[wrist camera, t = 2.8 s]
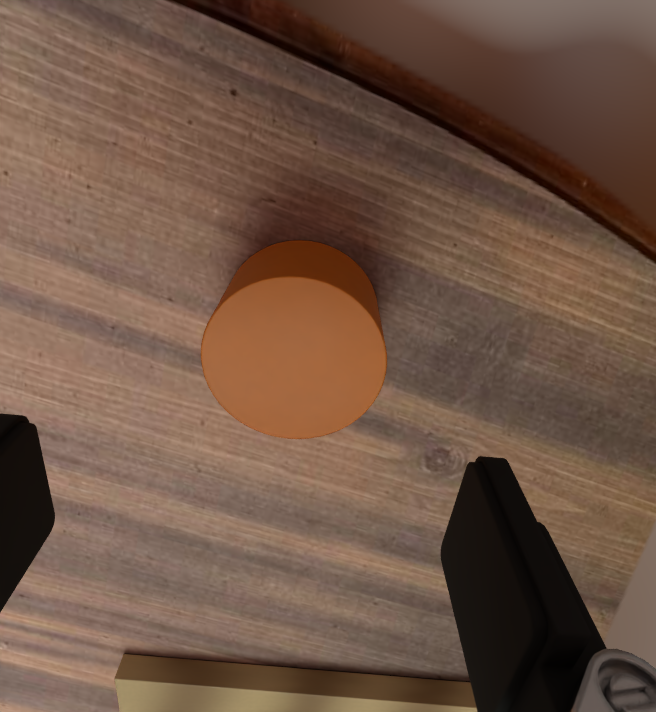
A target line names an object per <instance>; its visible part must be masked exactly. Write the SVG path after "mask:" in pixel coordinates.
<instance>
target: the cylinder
mask: <svg viewBox="0 0 656 712" xmlns="http://www.w3.org/2000/svg"><path fill="white" fill-rule="evenodd" d="M201 362H202V368H203V372H204V376H205V379H206V381H207V384H208V386H209V388H210V390H211V392H212V394H213V395H214V397H215V398H216V399H217V401H218V402H219V403H220V405H221V406H222V407H223V408H224V409H225V410H226V411H227V412H228V413H229V414H231V415H232V416H233V417H234V418H235V419H237V420H238V421H240V422H241V423H243V424H244V425H246V426H248V427H250V428H252V429H254V430H256V431H259V432H262V433H264V434H268V435H271V436H275V437H281V438H288V439H306V438H314V437H320V436H324V435H327V434H331V433H333V432H336V431H338V430H341V429H343V428H344V427H346V426H348V425H350V424H351V423H353V422H354V421H356V420H357V419H358V418H359V417H361V416H362V415H363V414H364V413H365V412H366V411H367V410H368V409H369V407H370V406H371V405H372V404H373V402H374V401H375V399H376V398H377V396H378V394H379V392H380V390H381V388H382V385H383V382H384V379H385V375H386V368H387V352H386V346H385V341H384V336H383V330H382V325H381V320H380V314H379V309H378V304H377V299H376V295H375V292H374V289H373V286H372V284H371V282H370V280H369V278H368V277H367V275H366V274H365V273H364V271H363V270H362V269H361V268H360V266H359V265H358V264H357V263H356V262H355V261H353V260H352V259H351V258H350V257H349V256H347V255H346V254H344V253H343V252H341V251H339V250H337V249H335V248H333V247H331V246H328V245H325V244H322V243H319V242H313V241H304V240H294V241H285V242H281V243H276V244H274V245H271V246H268V247H266V248H264V249H262V250H260V251H258V252H257V253H255V254H254V255H253V256H251V257H250V258H249V259H248V260H247V261H246V262H244V263H243V264H242V266H241V267H240V268H239V269H238V271H237V272H236V274H235V275H234V277H233V279H232V281H231V282H230V284H229V286H228V288H227V290H226V291H225V293H224V295H223V297H222V298H221V300H220V302H219V304H218V306H217V307H216V309H215V311H214V313H213V314H212V316H211V318H210V320H209V322H208V324H207V326H206V329H205V331H204V335H203V339H202V344H201Z"/></svg>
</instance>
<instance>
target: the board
mask: <svg viewBox="0 0 656 712" xmlns="http://www.w3.org/2000/svg"><path fill="white" fill-rule="evenodd" d="M115 685H116V691H117V697H118V703H119V709H120V712H477V707H476V703H475V699H474V695H473V691H472V686H471V683H470V682H458V681H446V680H433V679H421V678H409V677H397V676H385V675H373V674H361V673H348V672H336V671H324V670H312V669H300V668H288V667H276V666H263V665H251V664H239V663H227V662H215V661H203V660H190V659H178V658H166V657H154V656H142V655H130V654H124V655H123V658H122V660H121V663H120V665H119V668H118V671H117V673H116V676H115Z"/></svg>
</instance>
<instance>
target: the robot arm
mask: <svg viewBox="0 0 656 712" xmlns="http://www.w3.org/2000/svg"><path fill="white" fill-rule="evenodd" d="M54 521H55V512H54V508H53V503H52V498H51V494H50V489H49V484H48V480H47V475H46V470H45V465H44V461H43V456H42V451H41V447H40V442H39V437H38V432H37V428H36V426H35V425H34V424H32V423H29V420H28V419H27V417H25V416H22V415H11V414H0V612H1V610H2V609H3V607H4V606H5V604H6V602H7V601H8V599H9V598H10V596H11V594H12V593H13V591H14V590H15V588H16V586H17V585H18V583H19V582H20V580H21V579H22V577H23V575H24V574H25V572H26V571H27V569H28V567H29V566H30V564H31V563H32V561H33V559H34V558H35V556H36V555H37V553H38V551H39V550H40V548H41V547H42V545H43V543H44V542H45V540H46V539H47V537H48V536H49V534H50V532H51V530H52V528H53V525H54ZM441 561H442V566H443V570H444V574H445V578H446V583H447V587H448V591H449V595H450V599H451V603H452V608H453V612H454V616H455V620H456V624H457V628H458V632H459V637H460V641H461V645H462V649H463V653H464V657H465V662H466V666H467V670H468V674H469V678H470V682H471V686H472V691H473V695H474V699H475V703H476V707H477V711H478V712H656V669H655V668H654V667H653V666H651V665H650V664H649V663H648V662H646V661H645V660H643V659H641V658H639V657H637V656H635V655H633V654H632V653H629V652H625V651H622V650H618V649H606V646H605V644H604V642H603V640H602V638H601V636H600V634H599V632H598V630H597V628H596V626H595V624H594V622H593V620H592V618H591V616H590V614H589V612H588V610H587V608H586V606H585V604H584V602H583V600H582V598H581V596H580V594H579V592H578V590H577V588H576V586H575V584H574V582H573V580H572V578H571V576H570V574H569V572H568V570H567V568H566V566H565V564H564V562H563V560H562V558H561V556H560V554H559V552H558V550H557V548H556V546H555V544H554V542H553V540H552V538H551V536H550V534H549V532H548V531H547V529H546V528H545V526H544V525H543V524H541V523H540V522H537V521H536V519H535V516H534V514H533V512H532V510H531V508H530V506H529V504H528V502H527V500H526V498H525V496H524V494H523V492H522V490H521V488H520V486H519V483H518V481H517V479H516V477H515V475H514V473H513V471H512V469H511V467H510V465H509V463H508V461H507V460H506V459H504V458H494V457H483V456H480V457H478V458H477V459H476V461H475V462H469V463H468V465H467V467H466V470H465V473H464V477H463V480H462V483H461V486H460V489H459V492H458V495H457V498H456V502H455V505H454V508H453V511H452V514H451V517H450V520H449V523H448V526H447V530H446V533H445V536H444V539H443V542H442V546H441Z"/></svg>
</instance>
